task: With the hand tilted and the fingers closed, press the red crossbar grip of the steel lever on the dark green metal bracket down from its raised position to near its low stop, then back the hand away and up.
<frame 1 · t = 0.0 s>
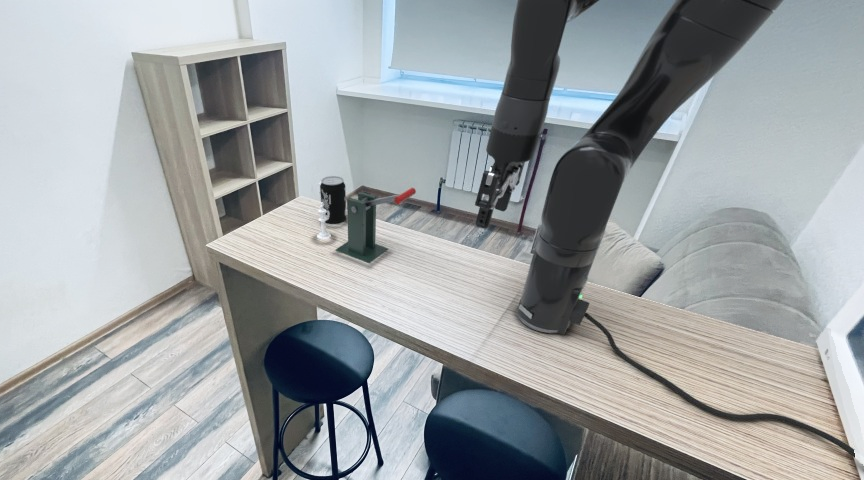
hand: (491, 217, 74), 17 cm above the table, tool pointing down, fingers open, 8 cm apart
bracket: (361, 253, 98), on the table
chess piece: (324, 239, 104), on the table
lever: (381, 200, 87), point 15 cm above the table, hinge at 24.0°
beverage can: (334, 222, 112), on the table
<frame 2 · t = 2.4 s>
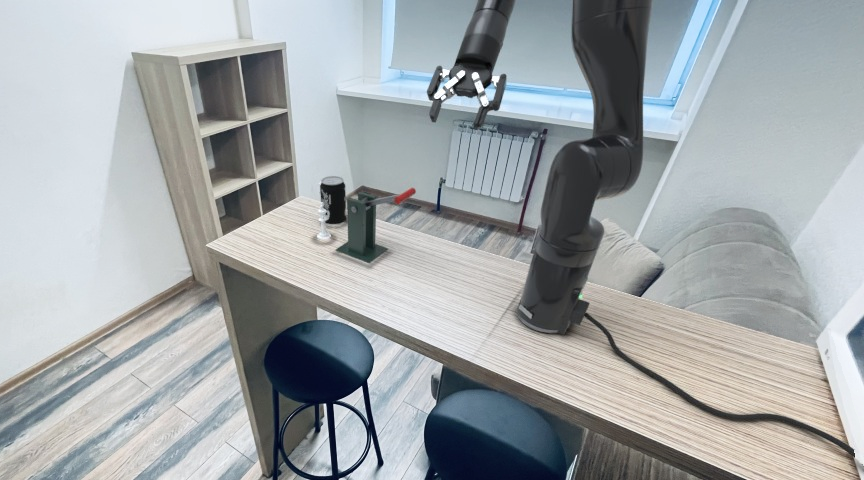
hand: (453, 124, 79), 30 cm above the table, tool tilted 40°, fingers open, 8 cm apart
nothing on the table moved.
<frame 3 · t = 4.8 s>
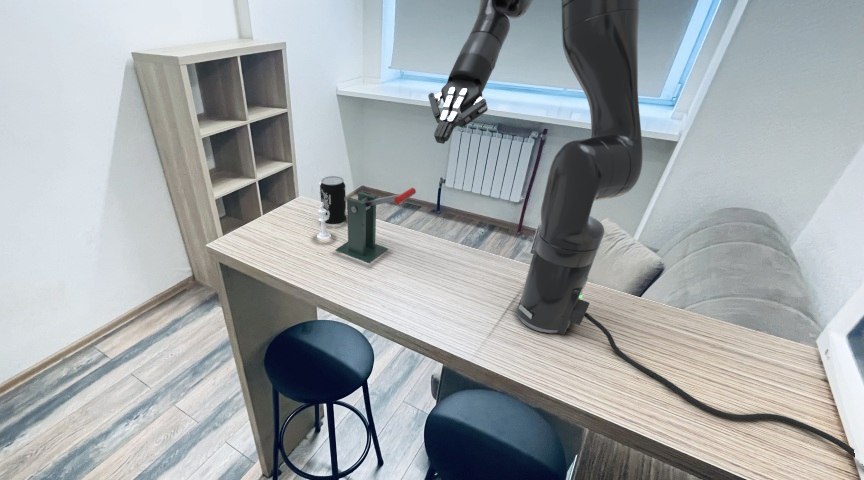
hand: (439, 141, 81), 27 cm above the table, tool tilted 45°, fingers closed
nothing on the table moved.
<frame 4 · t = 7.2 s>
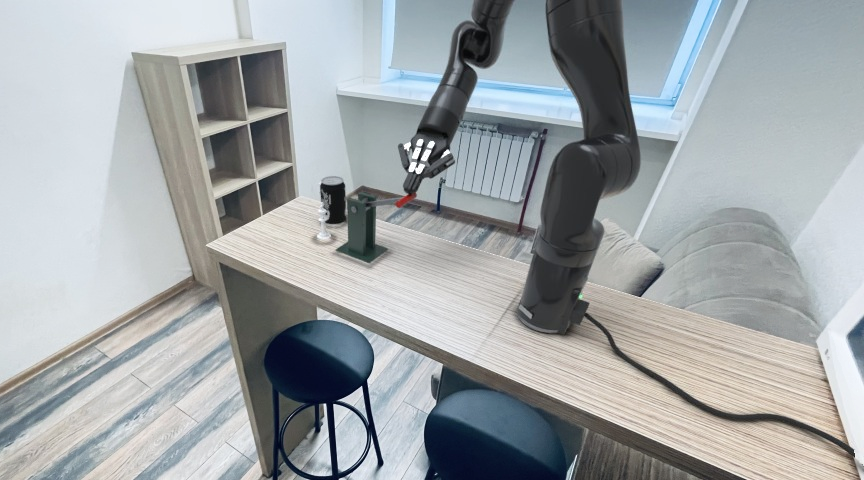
hand: (408, 192, 82), 18 cm above the table, tool tilted 45°, fingers closed
lever: (381, 202, 87), point 14 cm above the table, hinge at 20.1°
everything else where it was.
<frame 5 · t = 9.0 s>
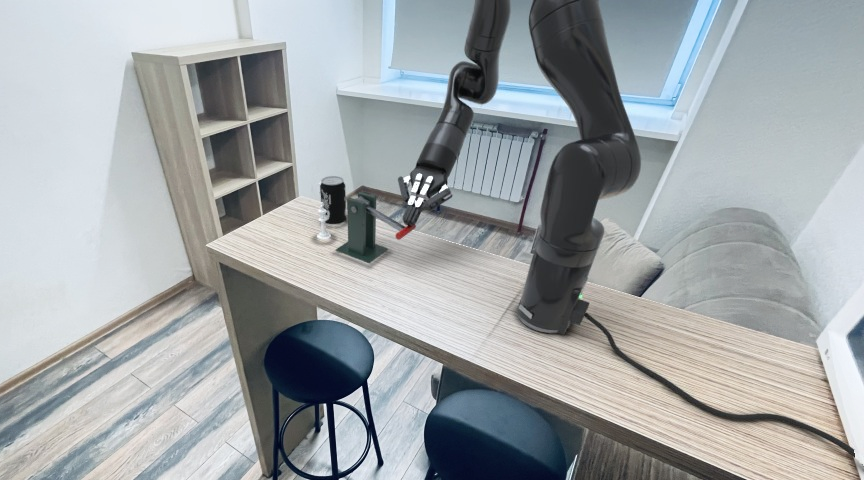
hand: (407, 224, 86), 11 cm above the table, tool tilted 45°, fingers closed
lever: (382, 217, 89), point 11 cm above the table, hinge at -14.0°, touching gripper
everything else where it was.
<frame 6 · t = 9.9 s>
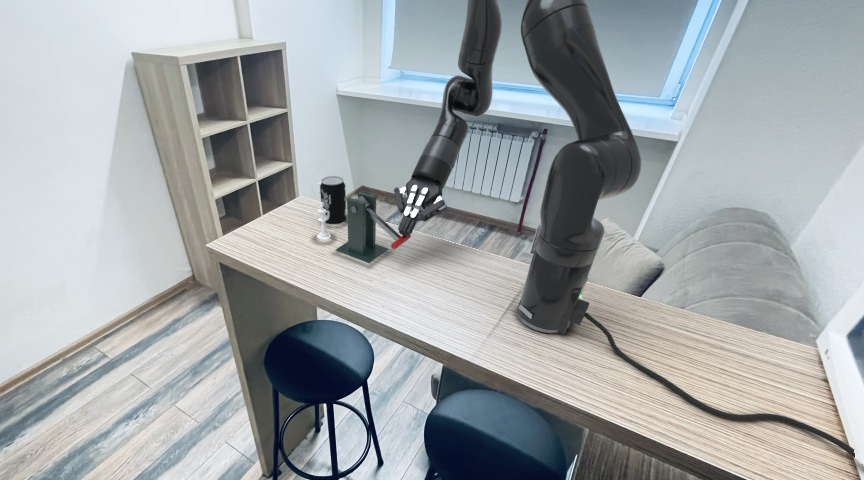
hand: (403, 234, 88), 8 cm above the table, tool tilted 45°, fingers closed
lever: (380, 221, 90), point 10 cm above the table, hinge at -27.9°, touching gripper
everything else where it was.
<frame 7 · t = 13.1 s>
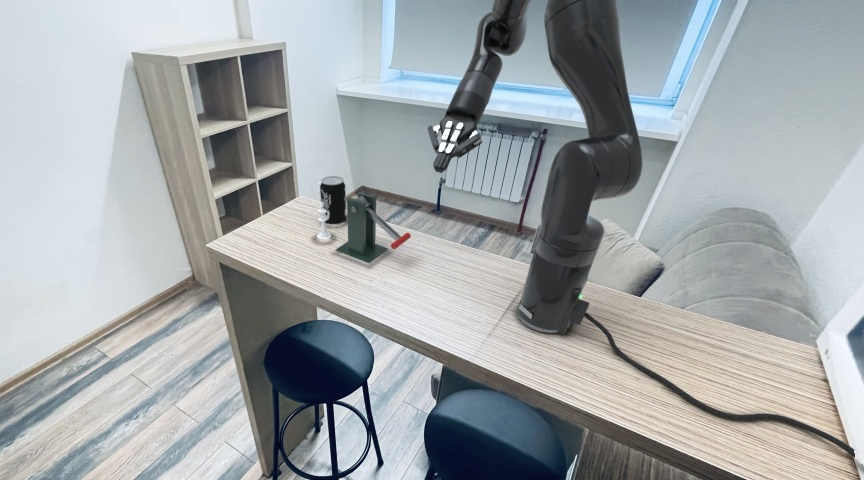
hand: (438, 170, 88), 19 cm above the table, tool tilted 45°, fingers closed
lever: (380, 221, 90), point 10 cm above the table, hinge at -28.0°
everything else where it was.
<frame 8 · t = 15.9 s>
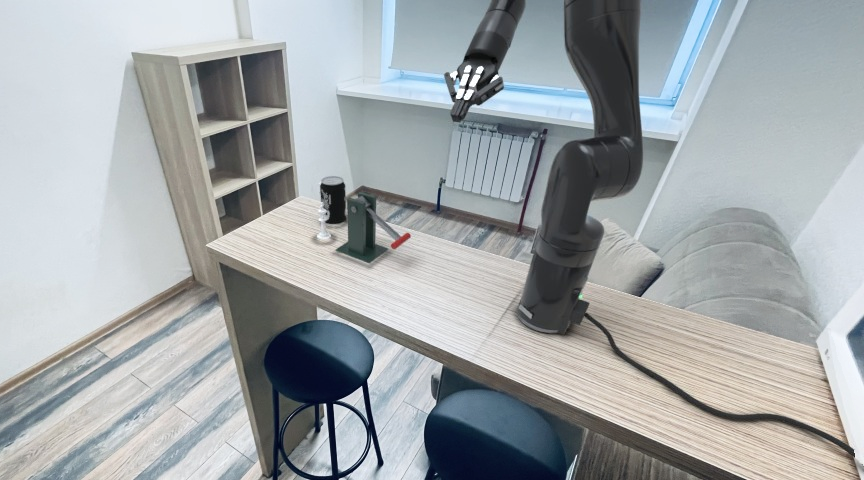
hand: (455, 119, 82), 30 cm above the table, tool tilted 45°, fingers closed
nothing on the table moved.
at the end: lever at -28° (first picture: +24°) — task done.
